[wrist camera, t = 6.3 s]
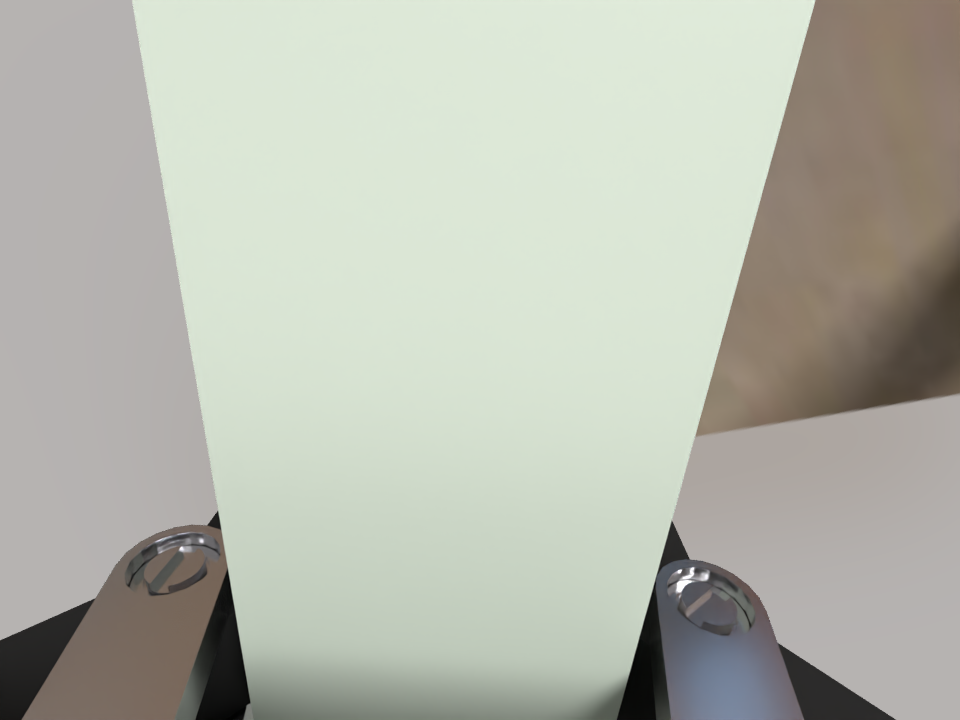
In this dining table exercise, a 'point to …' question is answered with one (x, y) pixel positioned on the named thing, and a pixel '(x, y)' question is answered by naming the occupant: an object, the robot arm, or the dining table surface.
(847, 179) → the dining table surface
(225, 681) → the robot arm
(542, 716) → the pale green slab
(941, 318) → the dining table surface
